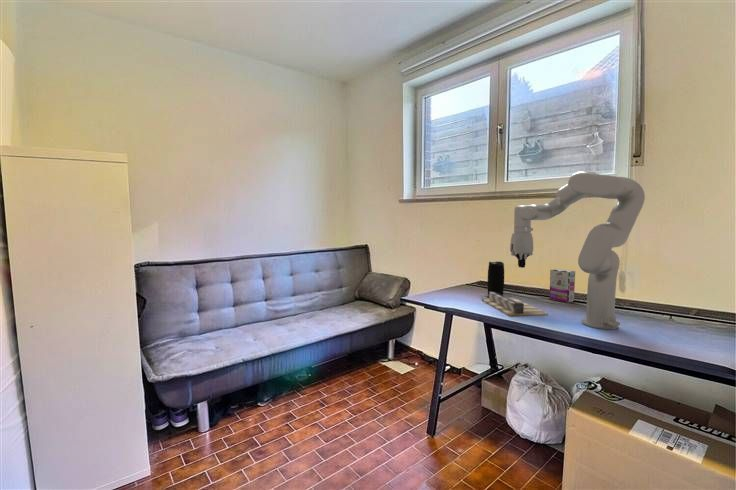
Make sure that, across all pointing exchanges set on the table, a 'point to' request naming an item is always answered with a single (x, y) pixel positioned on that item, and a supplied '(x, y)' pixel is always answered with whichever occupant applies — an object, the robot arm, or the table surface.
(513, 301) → the tongs arm
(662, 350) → the table surface
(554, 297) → the candy bar box
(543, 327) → the table surface
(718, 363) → the table surface
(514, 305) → the tongs board
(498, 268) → the portable speaker
